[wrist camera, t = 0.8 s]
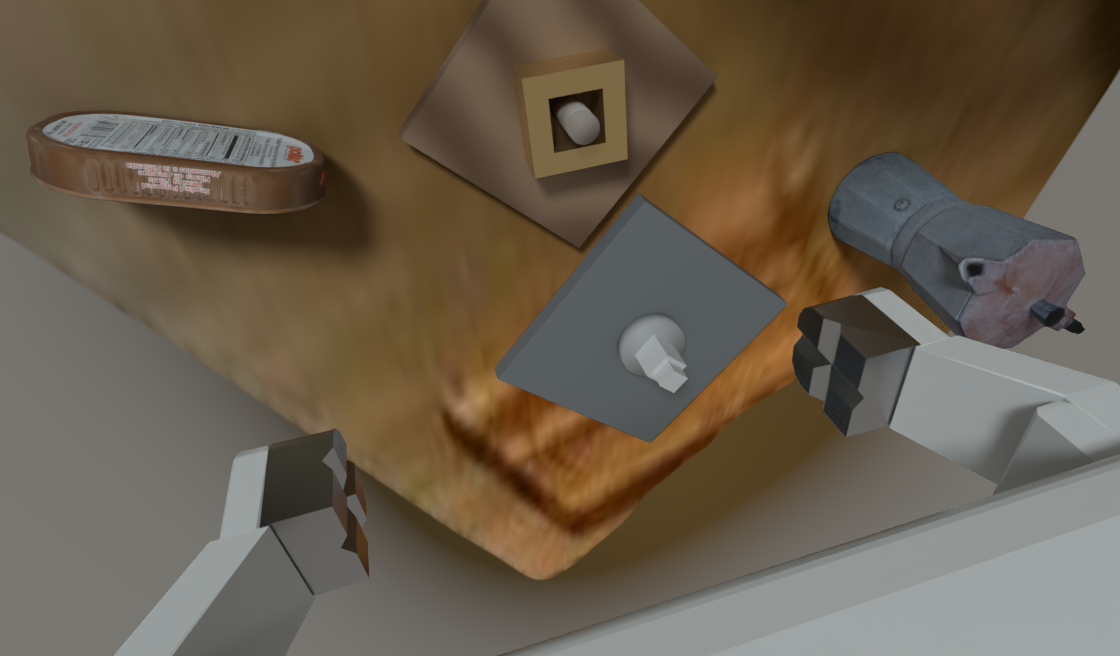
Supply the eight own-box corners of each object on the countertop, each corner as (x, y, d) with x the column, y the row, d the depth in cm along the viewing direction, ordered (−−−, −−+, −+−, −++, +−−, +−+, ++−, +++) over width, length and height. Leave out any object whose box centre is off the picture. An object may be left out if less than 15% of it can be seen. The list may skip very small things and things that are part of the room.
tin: (61, 143, 39) (5, 203, 32) (51, 90, 37) (-11, 142, 31) (326, 173, 44) (324, 230, 37) (328, 128, 42) (326, 179, 36)
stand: (540, -90, 38) (568, -81, 33) (708, 71, 47) (748, 95, 42) (399, 131, 43) (406, 165, 39) (573, 239, 52) (596, 277, 48)
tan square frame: (511, 65, 41) (521, 78, 39) (608, 47, 42) (624, 59, 40) (525, 161, 46) (535, 178, 43) (613, 143, 46) (627, 159, 44)
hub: (638, 193, 51) (676, 237, 45) (779, 295, 62) (824, 341, 56) (494, 368, 58) (511, 426, 52) (644, 432, 69) (672, 486, 63)
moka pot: (850, 119, 52) (1062, 233, 37) (962, 176, 59) (1180, 292, 44) (784, 220, 57) (949, 359, 41) (895, 262, 64) (1072, 395, 48)
